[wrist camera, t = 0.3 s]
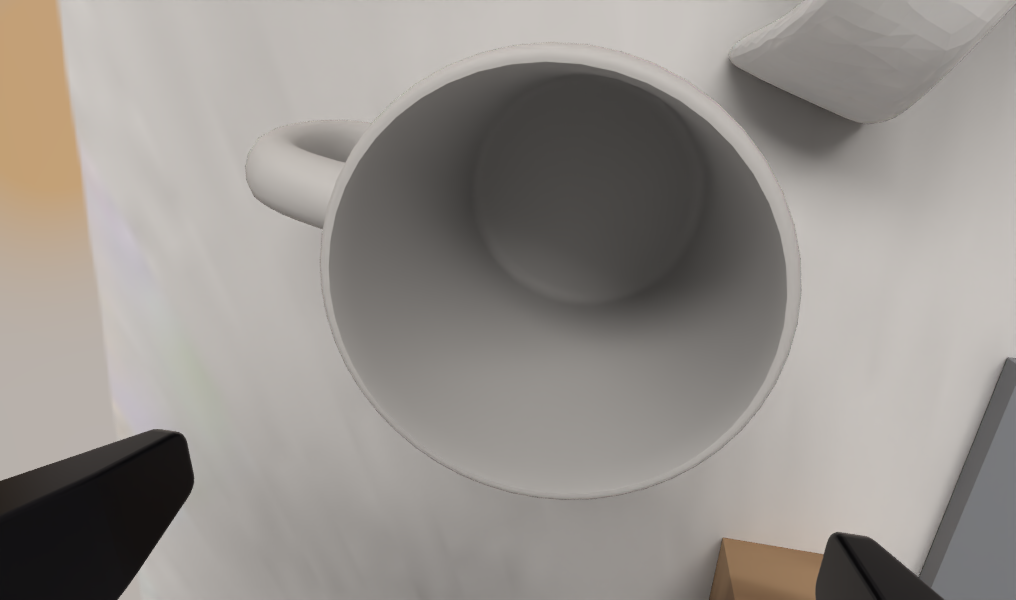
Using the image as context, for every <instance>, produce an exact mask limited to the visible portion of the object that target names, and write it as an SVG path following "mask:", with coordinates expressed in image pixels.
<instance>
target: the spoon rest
mask: <svg viewBox="0 0 1016 600" xmlns="http://www.w3.org/2000/svg"><path fill="white" fill-rule="evenodd" d="M1015 4H1016V0H804V1H803V2H801V3H800V4H799V5H798V6H796V7H795V8H794V9H793V10H792V11H790V12H789V13H787V14H786V15H784V16H783V17H781V18H780V19H778V20H777V21H774V22H773V23H771V24H769V25H767V26H765V27H764V28H762V29H759V30H757V31H755V32H753V33H751V34H749V35H747V36H745V37H744V38H742V39H741V40H740V41H739V42H737V43H736V44H735V45H734V46H733V48H732V49H731V50H730V52H729V59H730V61H731V62H732V63H733V64H734V65H735V66H737V67H738V68H740V69H742V70H744V71H746V72H748V73H750V74H751V75H753V76H755V77H757V78H759V79H761V80H763V81H765V82H767V83H770V84H772V85H774V86H776V87H778V88H780V89H782V90H784V91H787V92H789V93H791V94H793V95H795V96H798V97H800V98H802V99H804V100H806V101H809V102H811V103H813V104H815V105H817V106H820V107H822V108H824V109H826V110H828V111H831V112H833V113H835V114H837V115H840V116H842V117H844V118H846V119H849V120H852V121H855V122H858V123H865V124H872V123H878V122H883V121H887V120H890V119H892V118H895V117H896V116H898V115H899V114H901V113H903V112H904V111H906V110H907V109H908V108H909V107H911V106H912V105H913V104H914V103H915V102H917V101H918V100H919V99H920V98H921V97H922V96H924V95H925V94H926V93H927V92H928V91H929V90H930V89H931V88H932V87H934V86H935V85H936V84H937V83H938V82H939V81H940V80H941V79H942V78H943V77H944V76H946V75H947V74H948V73H949V72H950V71H951V70H952V69H953V68H954V67H955V66H956V65H957V64H958V63H959V62H960V61H961V60H962V59H963V58H964V57H965V56H966V55H967V54H968V53H969V52H970V51H971V50H972V49H973V48H974V47H975V46H976V45H977V44H978V43H979V42H980V41H981V40H982V39H983V38H984V37H985V36H986V34H987V33H988V32H989V31H990V30H991V29H992V28H993V27H994V26H995V25H996V24H997V23H998V22H999V21H1000V20H1001V19H1002V18H1003V17H1004V16H1005V15H1006V14H1007V12H1008V11H1009V10H1010V9H1011V8H1012V7H1013V6H1014V5H1015Z"/></svg>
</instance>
